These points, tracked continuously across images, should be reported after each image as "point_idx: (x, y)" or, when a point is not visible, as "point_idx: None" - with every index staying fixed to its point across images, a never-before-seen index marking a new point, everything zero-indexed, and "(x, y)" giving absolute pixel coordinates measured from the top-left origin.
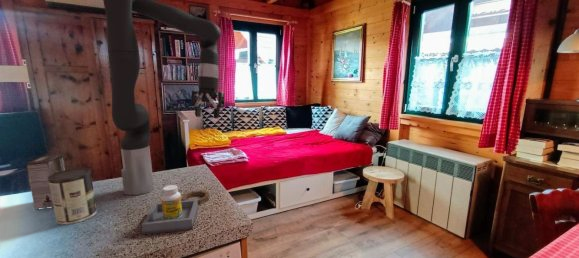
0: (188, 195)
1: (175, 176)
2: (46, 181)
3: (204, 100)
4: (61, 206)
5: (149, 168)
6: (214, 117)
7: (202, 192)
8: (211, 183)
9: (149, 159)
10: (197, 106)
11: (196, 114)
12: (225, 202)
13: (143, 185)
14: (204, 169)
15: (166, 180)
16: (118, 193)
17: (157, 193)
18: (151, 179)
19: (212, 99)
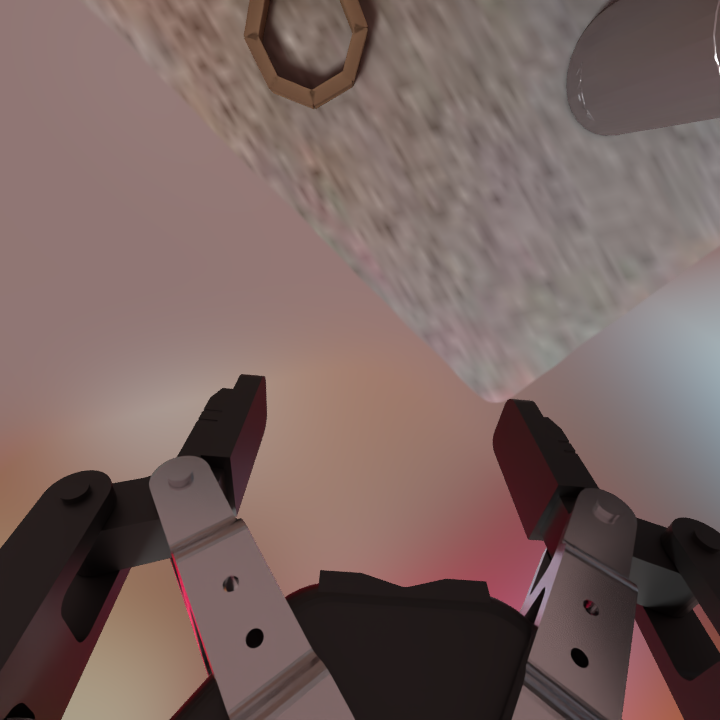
0: (350, 42)
1: (542, 270)
2: None
3: (444, 609)
4: None
5: (640, 47)
6: (248, 375)
7: (300, 85)
8: (344, 236)
9: (682, 44)
10: (570, 511)
11: (528, 411)
12: (165, 47)
13: (607, 18)
14: (457, 372)
15: (559, 217)
16: None
17: (522, 60)
18: (596, 76)
19: (197, 625)
